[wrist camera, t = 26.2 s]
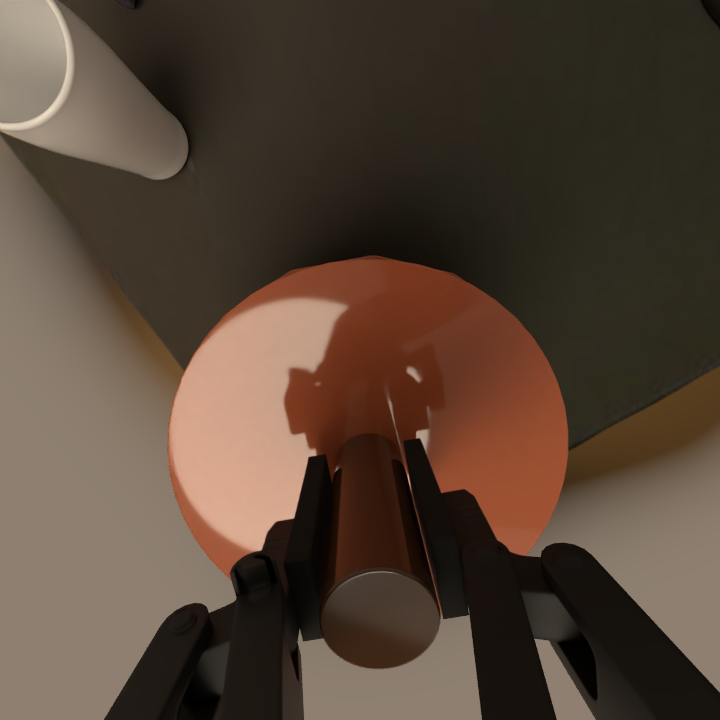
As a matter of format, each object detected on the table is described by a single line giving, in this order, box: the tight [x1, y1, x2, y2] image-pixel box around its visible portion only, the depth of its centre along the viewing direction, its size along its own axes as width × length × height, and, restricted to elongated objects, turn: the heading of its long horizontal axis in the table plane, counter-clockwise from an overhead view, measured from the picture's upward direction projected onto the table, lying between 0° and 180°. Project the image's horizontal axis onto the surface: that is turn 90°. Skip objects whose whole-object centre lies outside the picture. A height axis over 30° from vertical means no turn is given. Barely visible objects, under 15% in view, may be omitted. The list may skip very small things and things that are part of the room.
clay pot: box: [168, 255, 568, 669], centre depth 24 cm, size 19×19×27 cm
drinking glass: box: [0, 0, 188, 180], centre depth 25 cm, size 7×7×15 cm
